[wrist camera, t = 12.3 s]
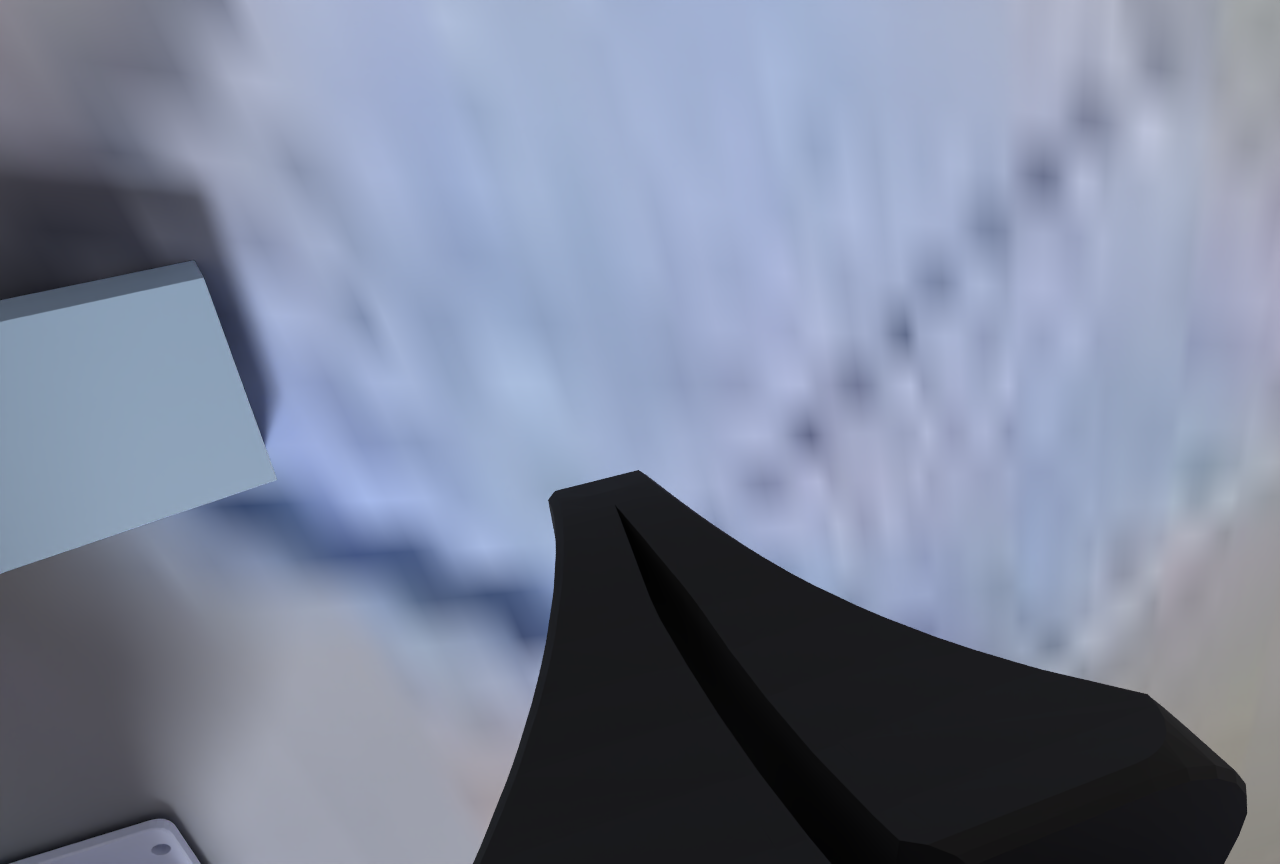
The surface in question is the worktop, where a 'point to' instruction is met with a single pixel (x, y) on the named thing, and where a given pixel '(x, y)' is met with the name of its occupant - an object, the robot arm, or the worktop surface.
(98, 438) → the domino
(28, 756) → the worktop surface
